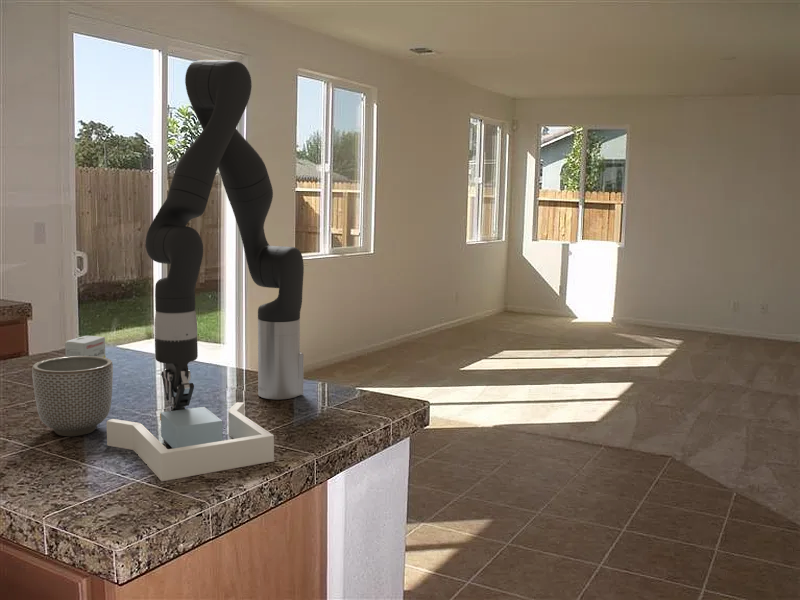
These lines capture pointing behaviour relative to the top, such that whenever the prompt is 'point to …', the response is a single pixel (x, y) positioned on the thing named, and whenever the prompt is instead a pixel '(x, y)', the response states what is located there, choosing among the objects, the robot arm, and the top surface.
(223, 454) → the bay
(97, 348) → the ink box
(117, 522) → the top surface
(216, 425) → the light blue box
